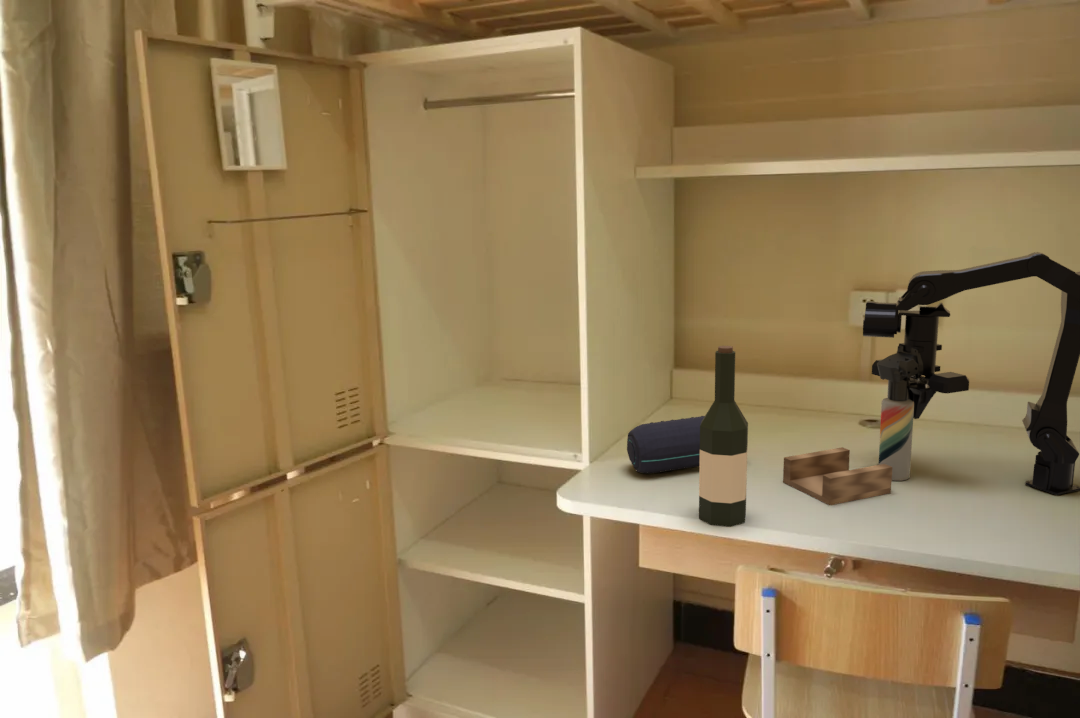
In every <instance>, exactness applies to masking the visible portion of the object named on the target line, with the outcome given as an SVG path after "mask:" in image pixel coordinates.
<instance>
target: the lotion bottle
mask: <svg viewBox="0 0 1080 718" xmlns="http://www.w3.org/2000/svg"><path fill="white" fill-rule="evenodd" d="M909 389H910V379H909V378H908V377H906V378H904V379H903V380H902V381H900V382H897V383H894V382H891V381H890V380H887V397H885V398H883V399H882V400H881V409H880V427H879V446H878V447H879V449H878V463H877V465H880V464H886V465H889V466H891V467H892V481H896V482H901V481H906V480H909V479H910V476H911V465H912V445H913V433H914V432H913V431H914V430H913V428H914V419H913V416H914V402H913V401H912V400H910V399H909Z"/></svg>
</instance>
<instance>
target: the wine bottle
mask: <svg viewBox="0 0 1080 718" xmlns="http://www.w3.org/2000/svg"><path fill="white" fill-rule="evenodd" d="M717 348H718V349H717V350H716V351H715V352H714V354H715V355H714V356H715V357H714V361H715V363H714V366H715V367H714V369H715V370H714V401H713V402H712V404H711V405H710V407H709V409H708V410H707V412H706V414H705V415H704V416H705V417H704V418H703V420H702V422H701V425H700V466H699V473H698V475H699V476H698V477H699V482H698V484H699V485H698V486H699V487H698V491H699V492H698V519H699V520H700V521H703V522H704V523H706V524H708V525H709V526H719V527H729V528H730V527H736V526H739V525H742V524H745V523H746V519H747V518H746V516H747V484H748V483H747V481H748V480H747V479H748V443H749V442H748V441H749V440H748V438H749V436H748V435H749V423H748V420H747V418H746V416H745V415H744V414H743V412H742V410H741V408H740V407H739V405H738V404H737V402H736V400H735V387H736V385H735V384H736V383H735V382H736V381H735V380H736V351H735V350H734V348H733V346H731V345H719V346H717Z"/></svg>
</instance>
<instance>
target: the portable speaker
mask: <svg viewBox="0 0 1080 718" xmlns="http://www.w3.org/2000/svg"><path fill="white" fill-rule="evenodd" d="M704 417H705V415H701V416H691V417H687V418H683V417H681V418H680V419H678V418H677V419H670V420H661V421H657V422H652V421H651V422H649V423H647V422H646V423H643V424H639V425H637V426H635V427H634V428H633V429H631V430H630V431H629V432H628V433H627V440H626V441H627V443H626V451H627V455H628V459H629V462H631V465H632V466H633V469H634V470H635V471H636V472H637V473H640V474H656V473H664V472H670V471H677V470H683V469H688V468H696V467H697V468H698V467H700V425H701V422H702V420H703V418H704Z"/></svg>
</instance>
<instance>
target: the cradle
mask: <svg viewBox="0 0 1080 718" xmlns="http://www.w3.org/2000/svg"><path fill="white" fill-rule="evenodd" d="M850 452H851V450H850V449H848V448H845V447H843V446H842V447H835V448H831V449H826V450H825V449H824V450H819V451H814V452H812V451H811V452H808V453H807V452H806V453H802V454H801V453H800V454H796V455H789V456H784V457H783V470H782V471H783V473H782V479H783V480H782V482H783V483H784V484H786V485H788V486H790V487H792V488H794V489H796V490H798V491H800V492H802V493H804V494H806V495H808V496H809V497H812V498H814V499H816V500H818V501H820V502H822V503H824V504H826V505H828V506H832V505H839V504H843V503H848V502H853V501H857V500H863V499H867V498H873V497H878V496H883V495H887V494H891V493H892V482H893V480H892V467H891V466H889V465H886V464H880V465H878V464H875V465H871V466H865V467H864V466H863V467H860V468H855V469H850Z"/></svg>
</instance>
